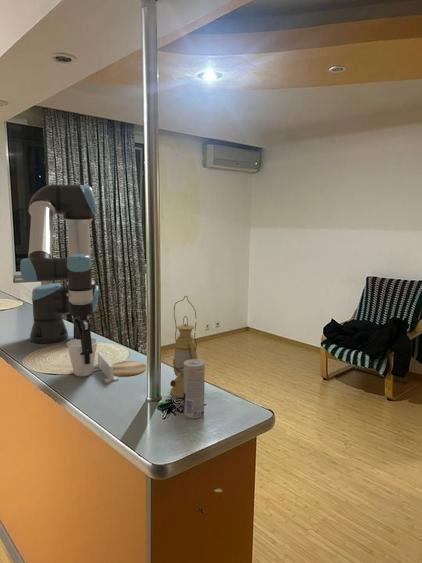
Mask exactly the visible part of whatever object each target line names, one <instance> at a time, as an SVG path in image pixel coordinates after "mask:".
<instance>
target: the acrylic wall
mask: <svg viewBox="0 0 422 563" xmlns="http://www.w3.org/2000/svg"><path fill="white" fill-rule="evenodd" d="M94 368H95V369H96V368H99V369H100V370H101V372H102V373H103V374H104V375H105V376H106V377H107V378H104V382H105V383H111V382H117V381H119V378H118V376H115V375H114V372H113V365H112V363H111V362H110V361H109V360H108V359H107V357H106V356H105V355H104V354H103V353H102V352H101V351H97V363H96V364H95V363H94Z"/></svg>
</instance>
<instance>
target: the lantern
mask: <svg viewBox="0 0 422 563" xmlns="http://www.w3.org/2000/svg"><path fill="white" fill-rule="evenodd" d="M185 298H186V300H187V302H188V303H189V304H190V305H191V306H192V308H193V310H194V314H195V318H197V312H196V309H195V307H194V306H193V303H191V302H190V301H189V298H188V296H187V295H184V296H183V299H180V300H178V301H177V302H175V304H174V307H173V318H174V322H175V325H176V326H175V329H176V330H178V332H179V335H177V332H175V335H174V337H175V338H174V340H175V346H174V347H175V348H174V354H173V355H174V357H173V362H172V363H173V365H172V366H173V372H174V375H175V376H176V377H175V378H174V379H172V380H171V381H170V387H171V388H170V392H169V393H170V394H171V395H172V396H173V395H174V397H176V396H177V397H176V398H180V397H184V362H185V361H186V360H190V359H198V358H199V357H198V352H197V348H198V347H197V339H196V334H194V335H192V332H193V331H192V330H196V328H197V323H195V325H191V324H189V320H188V317H187V316H186V315H185V316H184V317H183V318H182V322H183V324H179V325H177V322H176V320H177V319H176V317H175V316H176V315H175V310H176V304H177V303H179V302H181V301H184V300H185ZM185 318H186V320H187V323H185ZM198 360H199V359H198Z"/></svg>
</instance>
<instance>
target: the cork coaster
mask: <svg viewBox="0 0 422 563" xmlns="http://www.w3.org/2000/svg"><path fill="white" fill-rule="evenodd" d="M111 364H112V363H111ZM112 365H113V372H114V376H115V377H133V376H137V375H140V374H142V373H144V372H146V370H147V365H146V363H143V362H140V361H137V360H135V361H134V360H123V361H120V362H119V361H118V362H115V363H113V364H112Z"/></svg>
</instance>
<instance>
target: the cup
mask: <svg viewBox="0 0 422 563" xmlns="http://www.w3.org/2000/svg"><path fill="white" fill-rule="evenodd" d="M98 342H99V340H98V339H97V338H94V337H91V343H92V351H93V352H92V354H91V372H90V373H84V374H83V373H82V355H80V353H82V345H81V339H80V340H76V339H70V340H68V341H66V346H67V349H68V354H69V357H70V362H71V366H72V371H73V374H74V375H75V376H77V377H87V376H88V377H89V376H90V375H91V374H92V373H93V372H94V368H95V367H94V364H95V361H96V353H97V345H98ZM86 351H87V350H86Z"/></svg>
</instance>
